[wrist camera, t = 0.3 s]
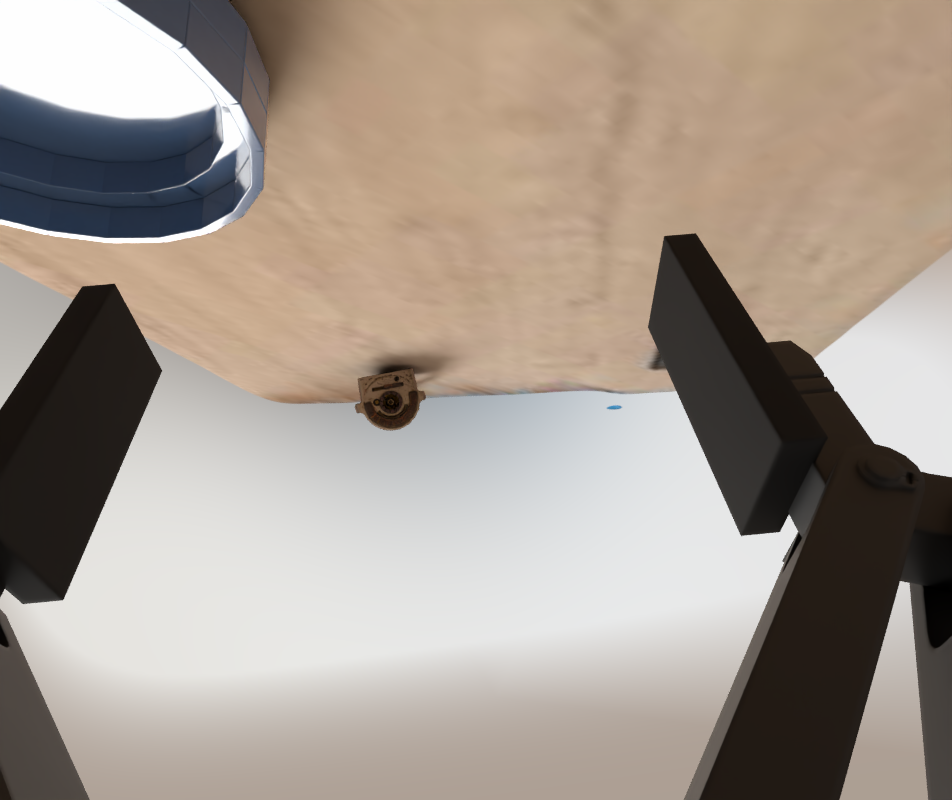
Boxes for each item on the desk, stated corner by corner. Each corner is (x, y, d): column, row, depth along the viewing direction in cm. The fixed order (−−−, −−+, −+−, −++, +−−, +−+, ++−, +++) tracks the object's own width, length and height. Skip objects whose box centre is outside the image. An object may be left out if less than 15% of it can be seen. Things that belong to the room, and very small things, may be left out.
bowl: (-529, -237, 17) (-597, -109, 16) (155, -233, 17) (136, -108, 16) (-20, 171, 34) (-34, 245, 33) (312, 168, 35) (308, 241, 34)
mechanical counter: (455, 415, 71) (375, 426, 66) (411, 444, 82) (338, 456, 76) (440, 356, 73) (359, 363, 67) (398, 392, 83) (326, 400, 78)
